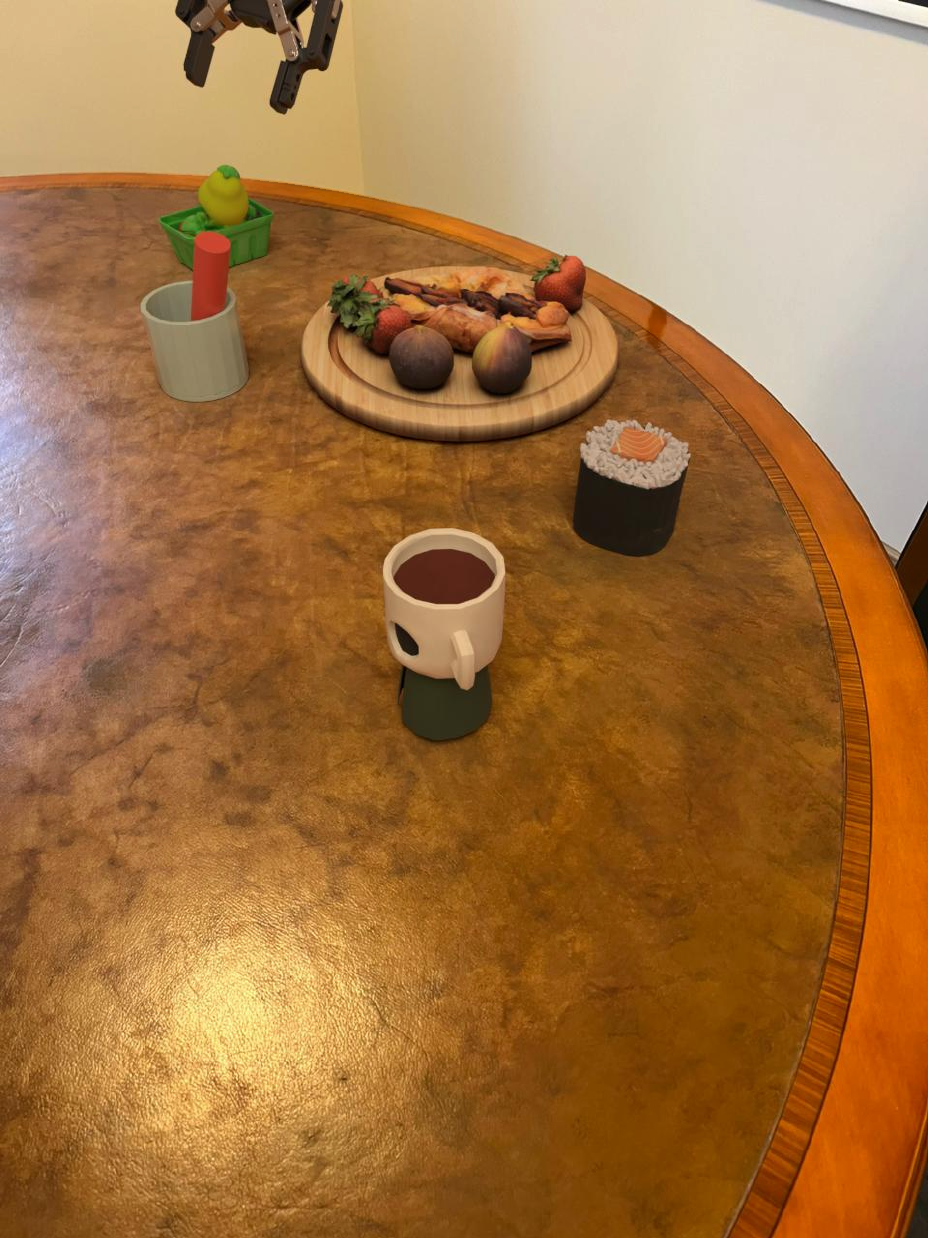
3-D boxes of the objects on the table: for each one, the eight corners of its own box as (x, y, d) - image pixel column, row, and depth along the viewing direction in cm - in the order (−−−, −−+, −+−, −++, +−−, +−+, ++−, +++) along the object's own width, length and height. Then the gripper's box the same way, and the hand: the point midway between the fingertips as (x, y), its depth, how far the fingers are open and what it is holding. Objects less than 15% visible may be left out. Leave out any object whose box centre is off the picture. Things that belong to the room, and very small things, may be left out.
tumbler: (150, 401, 88) (129, 323, 83) (171, 354, 94) (153, 279, 89) (240, 403, 88) (225, 325, 83) (256, 356, 94) (243, 280, 89)
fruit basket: (246, 234, 115) (231, 136, 107) (288, 258, 110) (275, 158, 102) (164, 261, 109) (141, 160, 101) (204, 288, 105) (184, 184, 97)
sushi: (592, 482, 80) (603, 402, 75) (686, 509, 78) (705, 429, 72) (557, 536, 75) (566, 455, 69) (656, 568, 73) (674, 486, 67)
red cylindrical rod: (185, 374, 89) (191, 246, 79) (191, 355, 91) (198, 227, 80) (216, 382, 90) (227, 256, 79) (222, 362, 92) (233, 236, 81)
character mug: (376, 660, 66) (364, 517, 56) (474, 642, 67) (478, 499, 58) (411, 786, 58) (404, 645, 49) (519, 762, 60) (532, 621, 50)
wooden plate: (547, 268, 109) (552, 196, 103) (673, 413, 88) (689, 333, 82) (275, 307, 102) (264, 231, 96) (342, 475, 80) (333, 392, 75)
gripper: (195, -149, 77) (143, 55, 80) (348, -107, 74) (287, 102, 78) (238, -94, 84) (188, 92, 88) (379, -54, 82) (322, 135, 85)
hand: (235, 96), depth 83 cm, fingers open, 8 cm apart
